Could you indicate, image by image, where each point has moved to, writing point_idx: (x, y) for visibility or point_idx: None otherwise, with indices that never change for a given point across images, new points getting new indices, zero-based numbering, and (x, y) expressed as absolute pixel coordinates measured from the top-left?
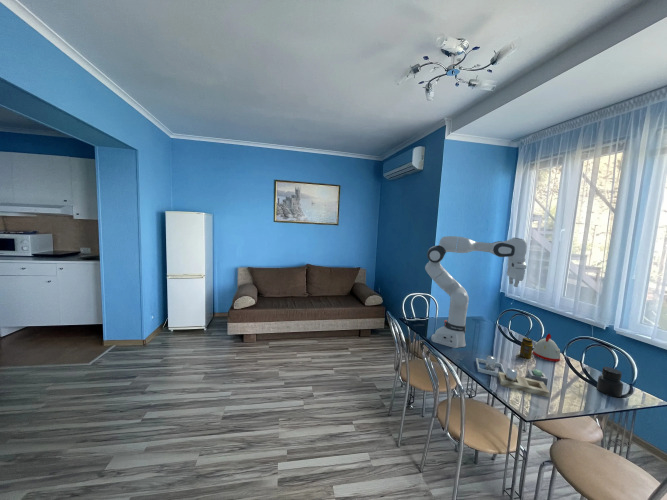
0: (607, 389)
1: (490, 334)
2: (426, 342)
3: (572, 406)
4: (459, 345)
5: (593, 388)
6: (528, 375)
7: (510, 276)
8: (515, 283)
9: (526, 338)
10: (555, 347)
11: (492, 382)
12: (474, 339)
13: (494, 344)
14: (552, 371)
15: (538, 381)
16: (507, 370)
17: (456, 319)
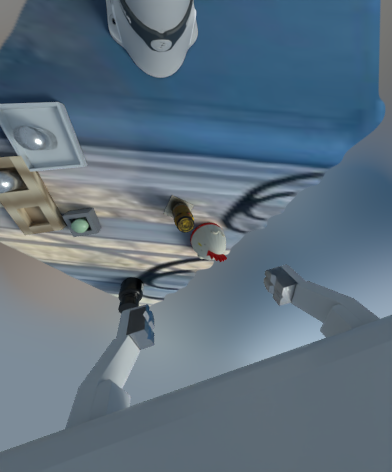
0: (120, 288)
1: (267, 153)
2: None
3: (40, 253)
4: (127, 48)
5: (130, 274)
6: (83, 210)
7: (280, 374)
8: (108, 352)
9: (190, 223)
10: (203, 257)
11: None
12: (217, 109)
13: (211, 159)
14: (148, 241)
15: (55, 223)
16: None
17: None
